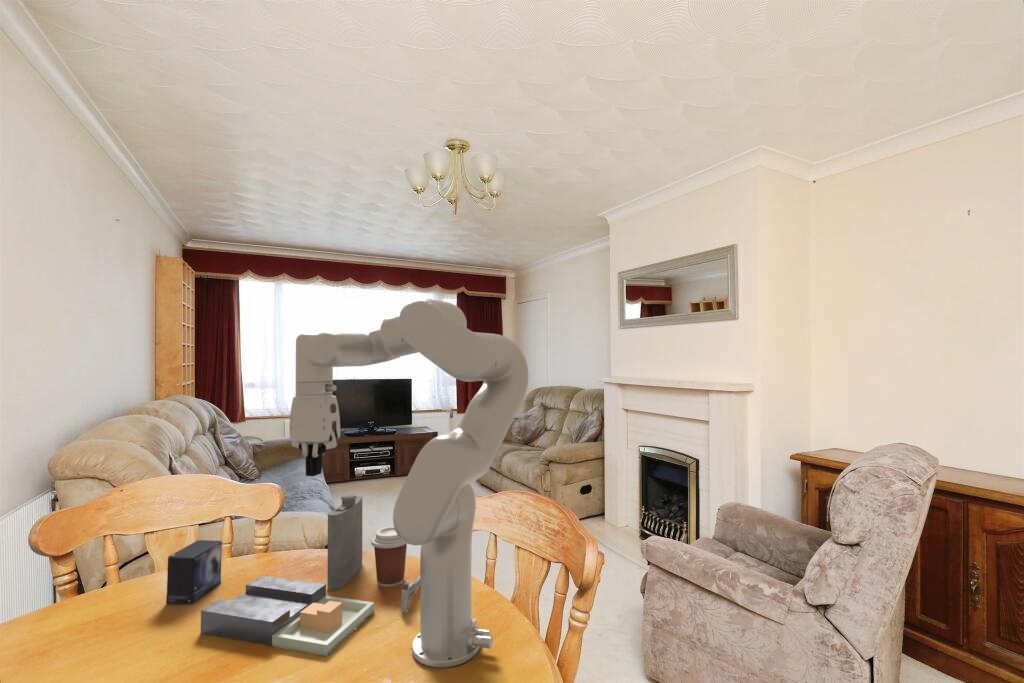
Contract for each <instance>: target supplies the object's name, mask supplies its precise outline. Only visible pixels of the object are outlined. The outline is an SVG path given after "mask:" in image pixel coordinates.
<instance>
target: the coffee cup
mask: <svg viewBox="0 0 1024 683" xmlns="http://www.w3.org/2000/svg"><path fill="white" fill-rule="evenodd" d="M370 544H371V546H372V547H373V548H374V559H375V561H374V562H375V570H376V572H375V573H376V574H375V575H376V584H377V585H378V586H379V587H382V588H392V587H393V588H394V587H397V586H399V585H401V584H404V581H405V573H406V572H405V571H406V570H405V569H406V558H407V546H408V543H406V542H404V541H403V540H402V539H401V538H400V537H399V536H398V534H397V533H396V530H395V528H394V526H385V527H381V528H380V529H378V530H377V531H376V532H375V535H374V536H373V537H372V539H371V542H370Z"/></svg>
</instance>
